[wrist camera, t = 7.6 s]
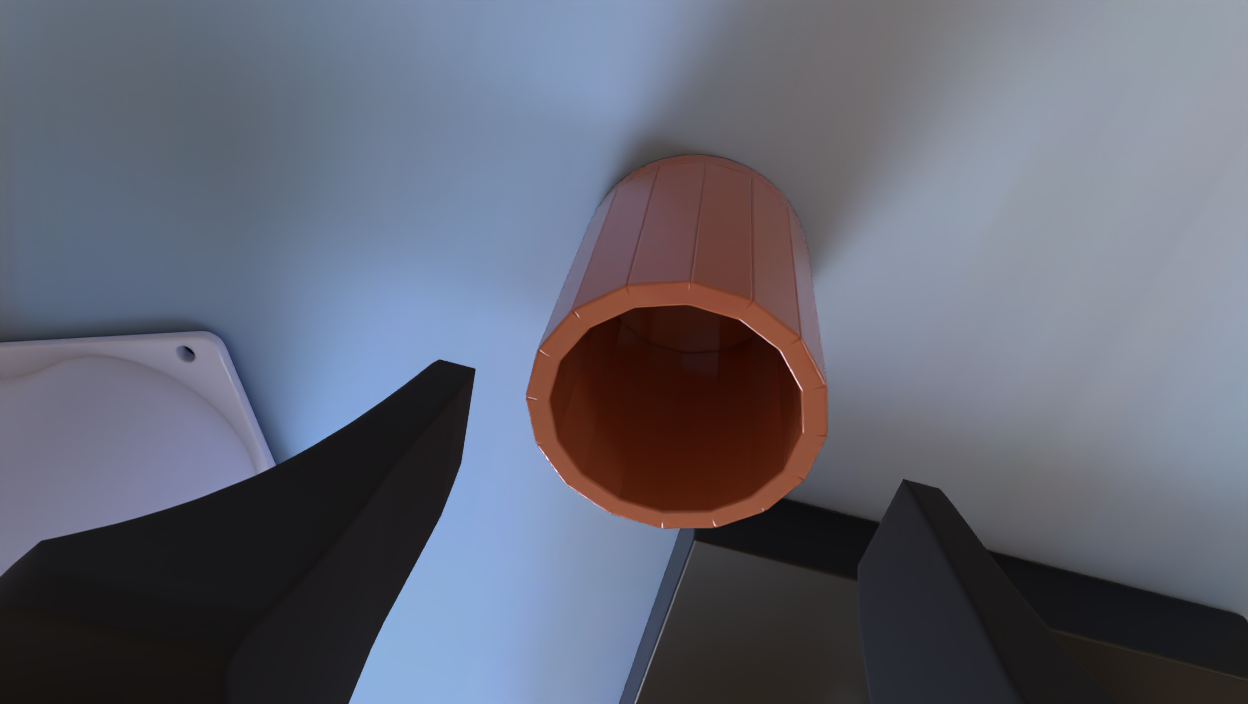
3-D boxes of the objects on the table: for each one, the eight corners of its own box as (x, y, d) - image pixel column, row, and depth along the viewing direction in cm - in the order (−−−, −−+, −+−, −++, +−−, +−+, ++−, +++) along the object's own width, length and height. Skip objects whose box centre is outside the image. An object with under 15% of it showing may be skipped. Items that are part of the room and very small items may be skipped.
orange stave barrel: (602, 359, 22) (554, 531, 17) (569, 164, 20) (500, 292, 14) (808, 350, 21) (829, 528, 16) (803, 144, 19) (826, 272, 13)
